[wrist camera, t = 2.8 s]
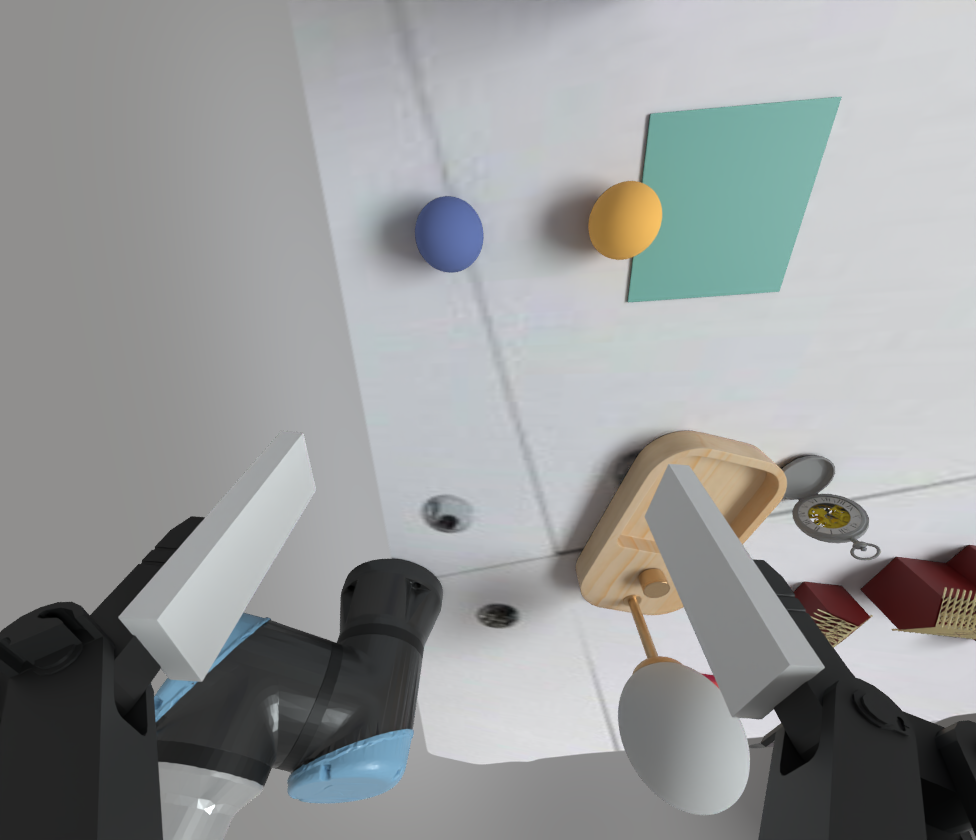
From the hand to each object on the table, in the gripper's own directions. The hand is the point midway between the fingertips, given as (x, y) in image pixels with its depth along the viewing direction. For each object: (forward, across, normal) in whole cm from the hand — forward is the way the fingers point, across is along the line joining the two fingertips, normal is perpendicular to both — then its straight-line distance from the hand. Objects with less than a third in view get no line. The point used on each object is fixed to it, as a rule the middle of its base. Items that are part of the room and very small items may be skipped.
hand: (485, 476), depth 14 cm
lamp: (+25, -26, +30) cm, 47 cm away
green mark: (+26, -19, -9) cm, 33 cm away
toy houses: (+26, -73, +39) cm, 87 cm away
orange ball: (+23, -10, -7) cm, 26 cm away
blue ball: (+23, +4, -5) cm, 24 cm away
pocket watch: (+26, -41, +19) cm, 52 cm away
